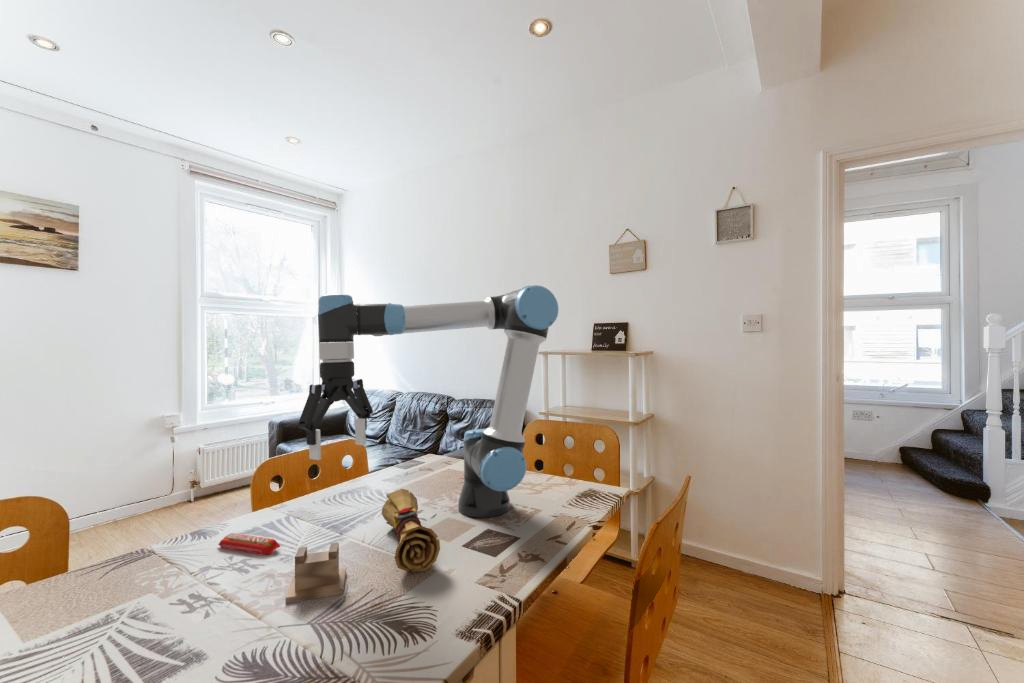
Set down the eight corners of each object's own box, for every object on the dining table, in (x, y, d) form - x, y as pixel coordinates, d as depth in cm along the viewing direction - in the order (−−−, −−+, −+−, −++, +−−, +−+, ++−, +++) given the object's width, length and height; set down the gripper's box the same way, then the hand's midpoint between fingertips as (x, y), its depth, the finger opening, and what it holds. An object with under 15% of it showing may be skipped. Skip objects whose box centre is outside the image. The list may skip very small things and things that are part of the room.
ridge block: (346, 572, 91) (345, 537, 91) (342, 593, 83) (342, 555, 83) (294, 580, 88) (293, 543, 88) (285, 603, 80) (285, 563, 80)
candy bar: (215, 549, 102) (215, 537, 102) (229, 542, 105) (229, 530, 105) (269, 558, 98) (269, 545, 98) (282, 551, 101) (282, 538, 101)
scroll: (441, 571, 92) (441, 524, 92) (395, 580, 88) (395, 532, 88) (417, 522, 117) (417, 485, 117) (380, 528, 113) (380, 490, 113)
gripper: (363, 358, 113) (365, 438, 113) (277, 364, 91) (280, 464, 91) (385, 358, 110) (387, 440, 110) (302, 364, 88) (305, 468, 88)
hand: (339, 451), depth 101 cm, fingers open, 13 cm apart
